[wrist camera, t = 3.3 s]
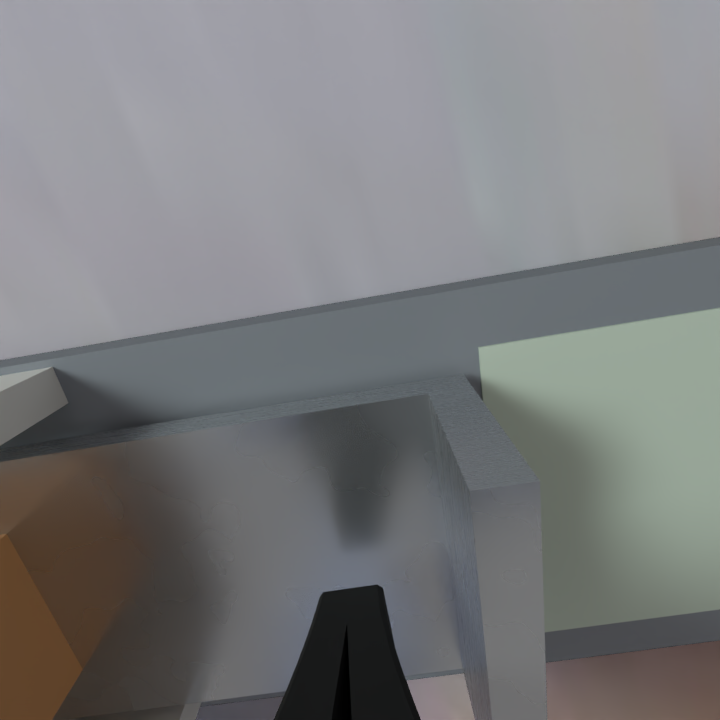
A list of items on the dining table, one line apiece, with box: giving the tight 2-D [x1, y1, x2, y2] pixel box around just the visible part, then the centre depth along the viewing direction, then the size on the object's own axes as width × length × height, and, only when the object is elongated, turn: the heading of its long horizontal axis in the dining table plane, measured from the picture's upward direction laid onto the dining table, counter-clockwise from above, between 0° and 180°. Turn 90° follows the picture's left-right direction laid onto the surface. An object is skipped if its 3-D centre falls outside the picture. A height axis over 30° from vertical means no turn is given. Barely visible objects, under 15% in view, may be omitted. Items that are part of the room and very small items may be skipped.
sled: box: [0, 374, 547, 720], centre depth 10 cm, size 9×19×4 cm, turn 100°
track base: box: [0, 237, 720, 707], centre depth 12 cm, size 13×38×1 cm, turn 100°
